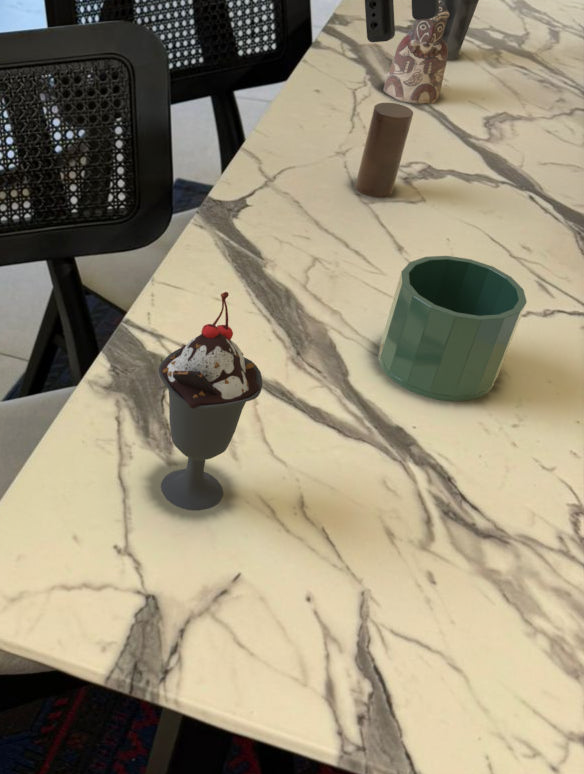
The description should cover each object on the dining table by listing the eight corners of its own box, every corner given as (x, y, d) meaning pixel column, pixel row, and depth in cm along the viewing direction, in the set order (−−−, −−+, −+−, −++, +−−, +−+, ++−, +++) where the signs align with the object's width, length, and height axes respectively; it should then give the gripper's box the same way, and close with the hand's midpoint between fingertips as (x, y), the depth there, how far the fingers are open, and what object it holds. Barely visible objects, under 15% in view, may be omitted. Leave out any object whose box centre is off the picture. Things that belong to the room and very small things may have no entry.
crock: (507, 364, 87) (539, 281, 82) (473, 419, 81) (506, 333, 76) (400, 325, 91) (425, 243, 85) (360, 375, 84) (384, 290, 79)
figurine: (379, 99, 132) (403, 1, 124) (386, 81, 137) (409, -14, 130) (435, 109, 131) (463, 11, 123) (439, 91, 136) (467, -5, 128)
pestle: (396, 190, 112) (418, 109, 106) (383, 203, 109) (405, 120, 103) (362, 180, 113) (382, 99, 107) (348, 192, 111) (368, 110, 105)
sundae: (212, 453, 75) (244, 273, 65) (254, 513, 71) (295, 329, 61) (129, 470, 73) (149, 287, 63) (167, 533, 69) (194, 346, 59)
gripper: (397, -191, 74) (408, 46, 82) (477, -209, 82) (480, 7, 91) (306, -170, 79) (324, 52, 87) (391, -189, 87) (400, 14, 95)
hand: (404, 29), depth 89 cm, fingers open, 8 cm apart
